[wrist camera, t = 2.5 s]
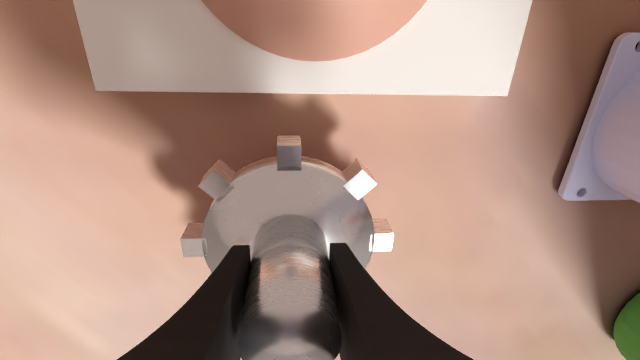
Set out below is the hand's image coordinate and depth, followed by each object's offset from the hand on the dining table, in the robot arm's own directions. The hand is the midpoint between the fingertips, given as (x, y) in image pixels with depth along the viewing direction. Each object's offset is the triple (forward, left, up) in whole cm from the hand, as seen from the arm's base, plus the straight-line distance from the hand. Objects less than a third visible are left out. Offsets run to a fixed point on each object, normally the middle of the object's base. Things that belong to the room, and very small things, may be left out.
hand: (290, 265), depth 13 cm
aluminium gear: (0, 0, -3) cm, 2 cm away
